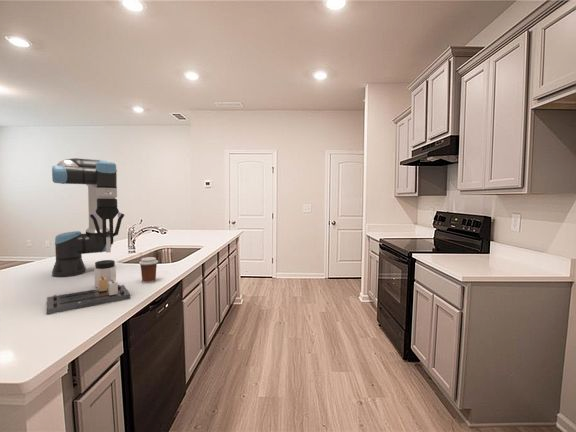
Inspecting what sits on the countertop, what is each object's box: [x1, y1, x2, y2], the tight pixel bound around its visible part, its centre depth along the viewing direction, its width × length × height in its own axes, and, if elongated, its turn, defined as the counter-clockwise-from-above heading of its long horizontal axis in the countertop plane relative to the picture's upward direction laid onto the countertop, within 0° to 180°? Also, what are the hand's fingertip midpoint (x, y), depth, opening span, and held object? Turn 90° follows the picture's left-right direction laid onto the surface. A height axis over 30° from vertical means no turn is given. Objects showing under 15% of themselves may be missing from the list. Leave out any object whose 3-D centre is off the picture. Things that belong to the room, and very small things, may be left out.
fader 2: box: [107, 279, 119, 295], centre depth 124 cm, size 4×3×6 cm
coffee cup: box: [138, 256, 159, 284], centre depth 150 cm, size 9×9×12 cm
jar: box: [93, 259, 117, 288], centre depth 141 cm, size 9×8×12 cm
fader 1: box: [97, 277, 108, 292], centre depth 128 cm, size 4×3×6 cm
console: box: [46, 284, 131, 315], centre depth 122 cm, size 16×28×3 cm, turn 129°
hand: (108, 251), depth 125 cm, fingers closed
